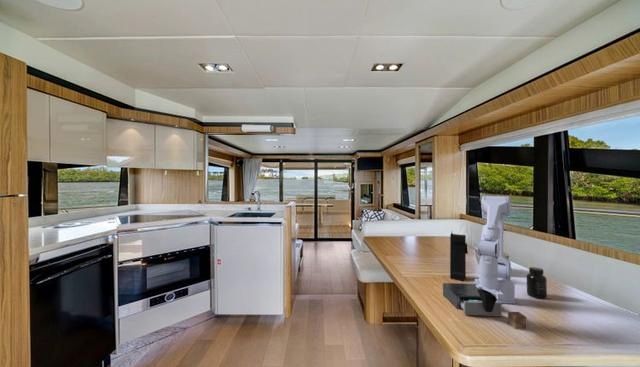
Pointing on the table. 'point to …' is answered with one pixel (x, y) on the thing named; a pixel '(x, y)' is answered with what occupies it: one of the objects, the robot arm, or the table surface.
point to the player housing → (459, 292)
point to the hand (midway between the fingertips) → (488, 311)
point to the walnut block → (517, 320)
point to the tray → (478, 307)
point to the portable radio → (458, 256)
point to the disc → (474, 299)
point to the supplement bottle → (536, 283)
